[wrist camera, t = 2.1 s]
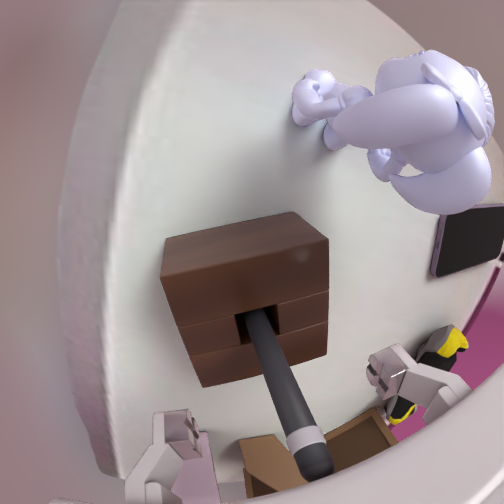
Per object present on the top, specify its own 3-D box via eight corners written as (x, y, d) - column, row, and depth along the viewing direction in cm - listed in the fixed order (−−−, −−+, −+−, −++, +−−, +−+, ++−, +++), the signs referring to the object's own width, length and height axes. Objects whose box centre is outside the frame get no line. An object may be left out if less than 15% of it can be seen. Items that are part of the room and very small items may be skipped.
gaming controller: (367, 403, 31) (413, 389, 34) (386, 432, 26) (430, 412, 29) (422, 314, 26) (462, 311, 29) (453, 343, 21) (487, 333, 24)
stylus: (229, 274, 19) (304, 483, 6) (248, 269, 19) (344, 469, 6) (233, 290, 19) (304, 491, 7) (251, 286, 19) (339, 478, 7)
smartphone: (446, 209, 20) (510, 204, 22) (438, 205, 21) (504, 201, 23) (432, 280, 23) (499, 257, 25) (425, 275, 24) (493, 254, 26)
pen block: (165, 238, 17) (159, 277, 12) (293, 211, 18) (329, 239, 13) (196, 337, 20) (202, 388, 16) (300, 312, 21) (326, 354, 17)
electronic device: (164, 429, 24) (171, 509, 16) (206, 427, 25) (221, 506, 17) (179, 461, 28) (187, 523, 20) (212, 459, 29) (225, 521, 21)
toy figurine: (381, 112, 16) (537, 130, 5) (337, 183, 18) (490, 259, 7) (306, 46, 13) (459, -19, 3) (252, 122, 15) (392, 110, 4)
